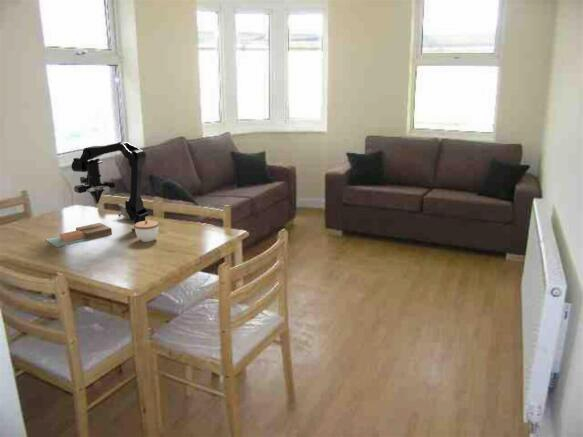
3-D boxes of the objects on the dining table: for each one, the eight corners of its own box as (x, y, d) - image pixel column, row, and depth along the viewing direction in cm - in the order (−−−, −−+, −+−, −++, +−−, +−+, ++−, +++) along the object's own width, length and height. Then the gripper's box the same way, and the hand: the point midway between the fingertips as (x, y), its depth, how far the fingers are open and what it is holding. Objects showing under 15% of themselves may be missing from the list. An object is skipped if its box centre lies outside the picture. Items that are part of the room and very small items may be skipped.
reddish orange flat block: (84, 237, 254) (84, 232, 254) (65, 242, 249) (64, 236, 248) (79, 234, 259) (78, 229, 258) (60, 239, 253) (59, 234, 252)
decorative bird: (134, 223, 278) (133, 209, 275) (116, 218, 288) (115, 204, 285) (143, 221, 282) (142, 207, 279) (125, 216, 292) (124, 202, 289)
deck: (112, 234, 260) (111, 228, 259) (87, 239, 252) (86, 233, 252) (100, 228, 269) (100, 222, 269) (76, 233, 262) (75, 227, 261)
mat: (87, 240, 252) (87, 239, 252) (56, 247, 243) (56, 246, 243) (75, 233, 262) (75, 232, 262) (45, 239, 253) (45, 239, 253)
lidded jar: (135, 244, 245) (133, 224, 243) (135, 237, 255) (133, 218, 252) (160, 242, 248) (158, 222, 245) (159, 235, 258) (157, 216, 255)
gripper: (105, 167, 277) (108, 197, 281) (68, 172, 265) (72, 203, 269) (114, 170, 269) (117, 201, 273) (76, 176, 257) (80, 208, 261)
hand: (97, 203), depth 269 cm, fingers closed
